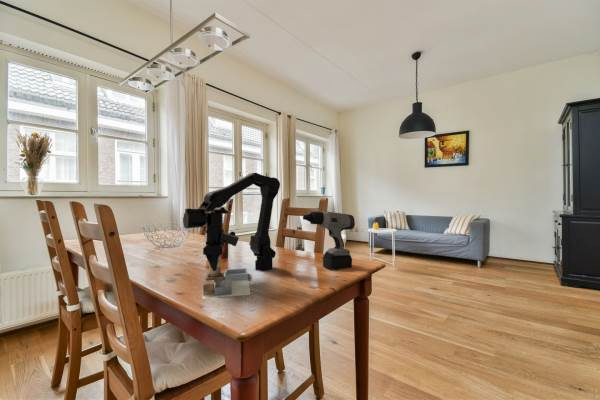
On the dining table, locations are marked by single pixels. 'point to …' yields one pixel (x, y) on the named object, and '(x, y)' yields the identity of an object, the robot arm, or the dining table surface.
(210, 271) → the oak dowel
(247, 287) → the bench board
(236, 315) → the dining table surface
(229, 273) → the parts tray
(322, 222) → the cordless drill
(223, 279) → the dowel socket
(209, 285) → the bench dog
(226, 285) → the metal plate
